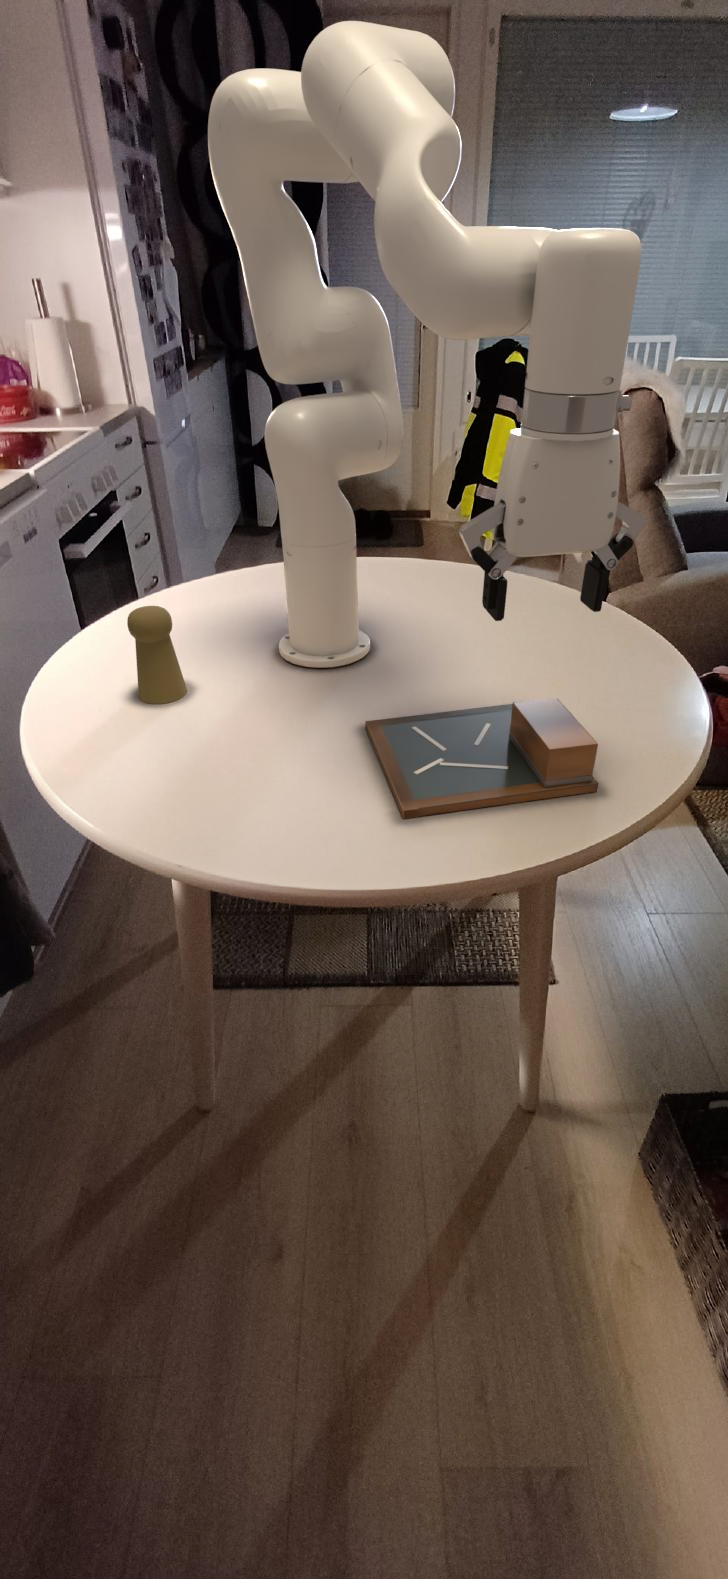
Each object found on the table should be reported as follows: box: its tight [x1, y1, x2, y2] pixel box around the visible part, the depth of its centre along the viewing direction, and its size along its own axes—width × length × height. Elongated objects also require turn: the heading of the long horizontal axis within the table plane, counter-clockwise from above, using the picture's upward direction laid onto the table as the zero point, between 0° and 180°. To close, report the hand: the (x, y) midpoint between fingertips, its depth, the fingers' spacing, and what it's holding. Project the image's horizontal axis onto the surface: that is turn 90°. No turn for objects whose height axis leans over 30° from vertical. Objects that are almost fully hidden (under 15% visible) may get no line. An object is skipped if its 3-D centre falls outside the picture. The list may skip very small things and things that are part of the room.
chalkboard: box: [364, 703, 599, 819], centre depth 83 cm, size 18×20×1 cm
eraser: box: [509, 696, 599, 787], centre depth 80 cm, size 10×5×4 cm, turn 11°
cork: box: [126, 605, 188, 705], centre depth 94 cm, size 6×6×11 cm
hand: (542, 611), depth 73 cm, fingers open, 9 cm apart
